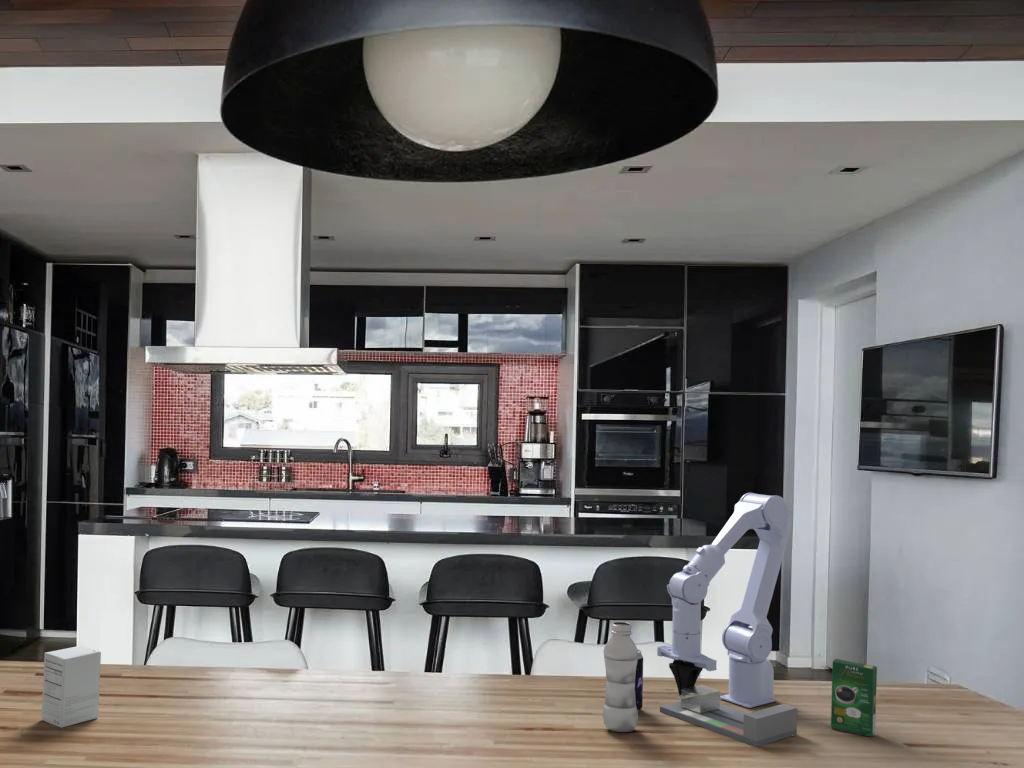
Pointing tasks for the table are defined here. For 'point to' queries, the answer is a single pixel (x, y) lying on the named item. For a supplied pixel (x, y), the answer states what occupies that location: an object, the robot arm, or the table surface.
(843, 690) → the coffee box
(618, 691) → the plastic bottle
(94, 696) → the supplement box
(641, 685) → the beverage can
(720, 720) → the gauge board
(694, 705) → the slider block with tab
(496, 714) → the table surface
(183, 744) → the table surface
